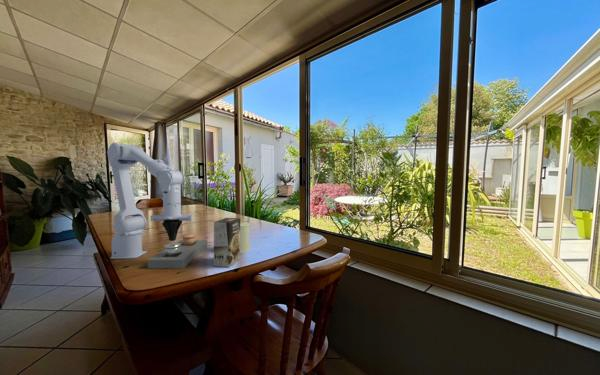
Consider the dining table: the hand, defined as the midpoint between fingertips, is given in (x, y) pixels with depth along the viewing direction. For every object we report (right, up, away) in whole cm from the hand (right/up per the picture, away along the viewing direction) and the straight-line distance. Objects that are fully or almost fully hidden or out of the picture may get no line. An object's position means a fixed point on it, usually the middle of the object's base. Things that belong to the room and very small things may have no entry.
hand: (172, 240), depth 89 cm
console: (0, -8, +7) cm, 11 cm away
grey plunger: (0, -6, 0) cm, 6 cm away
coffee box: (+20, -9, +1) cm, 22 cm away
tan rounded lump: (-1, -5, +14) cm, 15 cm away
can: (+20, -8, +16) cm, 27 cm away
